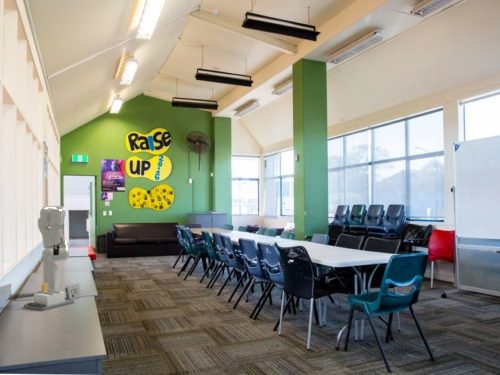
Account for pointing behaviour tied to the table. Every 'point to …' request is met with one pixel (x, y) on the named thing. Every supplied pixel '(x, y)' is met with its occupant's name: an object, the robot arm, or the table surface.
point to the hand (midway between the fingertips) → (56, 255)
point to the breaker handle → (45, 287)
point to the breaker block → (48, 300)
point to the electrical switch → (73, 291)
